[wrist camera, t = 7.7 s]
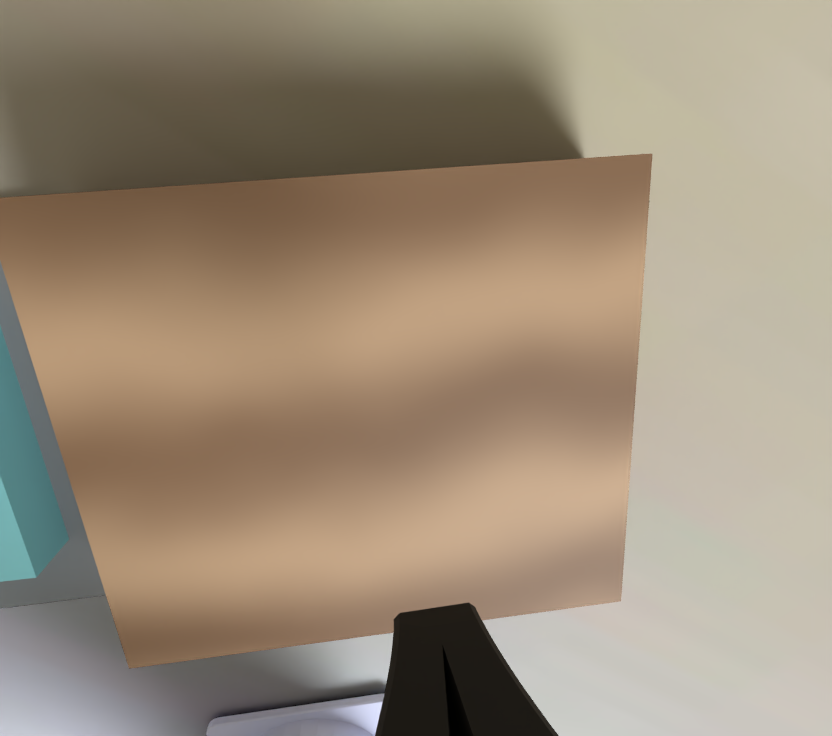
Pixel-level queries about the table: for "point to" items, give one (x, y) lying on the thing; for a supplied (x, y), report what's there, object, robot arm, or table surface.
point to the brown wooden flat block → (340, 393)
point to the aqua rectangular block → (23, 487)
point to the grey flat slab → (74, 561)
